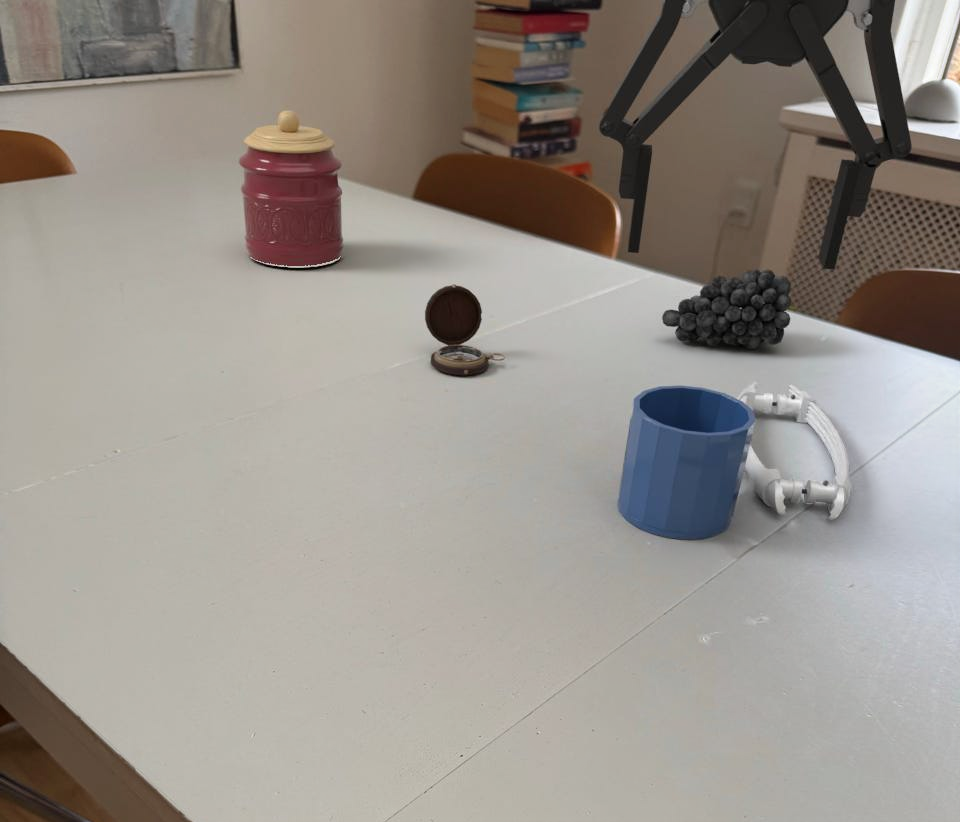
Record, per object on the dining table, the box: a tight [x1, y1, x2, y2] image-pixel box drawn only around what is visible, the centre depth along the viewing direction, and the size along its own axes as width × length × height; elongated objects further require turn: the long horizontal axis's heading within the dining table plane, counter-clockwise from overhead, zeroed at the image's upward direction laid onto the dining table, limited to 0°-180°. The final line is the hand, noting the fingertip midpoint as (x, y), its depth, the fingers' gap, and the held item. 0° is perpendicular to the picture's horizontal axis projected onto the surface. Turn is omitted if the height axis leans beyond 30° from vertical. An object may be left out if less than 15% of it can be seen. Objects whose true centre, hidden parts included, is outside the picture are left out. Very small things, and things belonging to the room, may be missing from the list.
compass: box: [424, 283, 506, 376], centre depth 105 cm, size 8×8×7 cm
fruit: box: [661, 269, 797, 350], centre depth 115 cm, size 9×8×15 cm
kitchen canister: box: [238, 109, 344, 266], centre depth 130 cm, size 13×13×18 cm
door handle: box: [737, 380, 853, 521], centre depth 92 cm, size 3×10×25 cm
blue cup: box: [617, 385, 756, 540], centre depth 81 cm, size 9×9×9 cm
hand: (728, 256), depth 71 cm, fingers open, 13 cm apart
